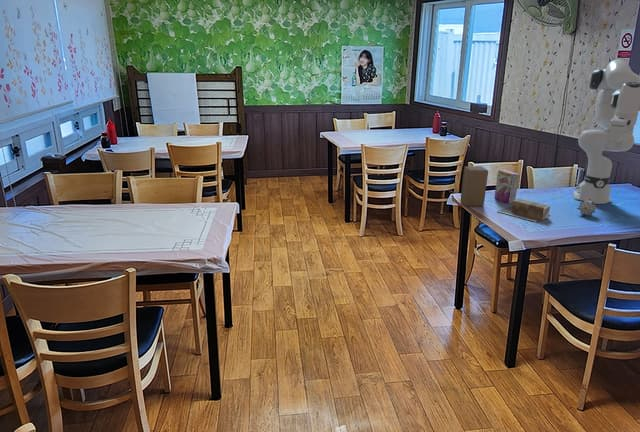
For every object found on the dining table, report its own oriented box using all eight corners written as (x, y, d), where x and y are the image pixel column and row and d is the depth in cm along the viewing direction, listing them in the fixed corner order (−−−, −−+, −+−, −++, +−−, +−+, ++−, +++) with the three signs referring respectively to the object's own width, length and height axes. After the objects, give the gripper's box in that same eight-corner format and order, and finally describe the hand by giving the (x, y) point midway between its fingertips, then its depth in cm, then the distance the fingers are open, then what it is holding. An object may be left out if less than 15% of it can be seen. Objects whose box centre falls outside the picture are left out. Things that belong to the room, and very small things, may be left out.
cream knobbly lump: (588, 222, 230) (602, 211, 222) (572, 216, 231) (585, 204, 222) (588, 210, 235) (602, 198, 227) (573, 203, 236) (585, 192, 228)
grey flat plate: (550, 215, 229) (550, 214, 229) (535, 222, 220) (535, 221, 219) (512, 205, 244) (512, 204, 243) (496, 212, 234) (497, 211, 234)
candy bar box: (493, 198, 256) (497, 169, 251) (500, 197, 258) (504, 169, 252) (508, 204, 246) (512, 174, 241) (515, 203, 248) (519, 173, 243)
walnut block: (550, 205, 223) (518, 198, 235) (544, 208, 220) (513, 200, 231) (547, 217, 225) (516, 209, 237) (542, 219, 222) (511, 211, 233)
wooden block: (477, 201, 251) (482, 165, 244) (484, 206, 242) (489, 170, 235) (459, 201, 251) (463, 165, 244) (465, 206, 241) (470, 170, 235)
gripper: (624, 117, 214) (618, 146, 219) (609, 121, 201) (602, 151, 206) (640, 118, 209) (633, 148, 214) (625, 122, 197) (618, 154, 201)
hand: (617, 150), depth 210 cm, fingers closed
